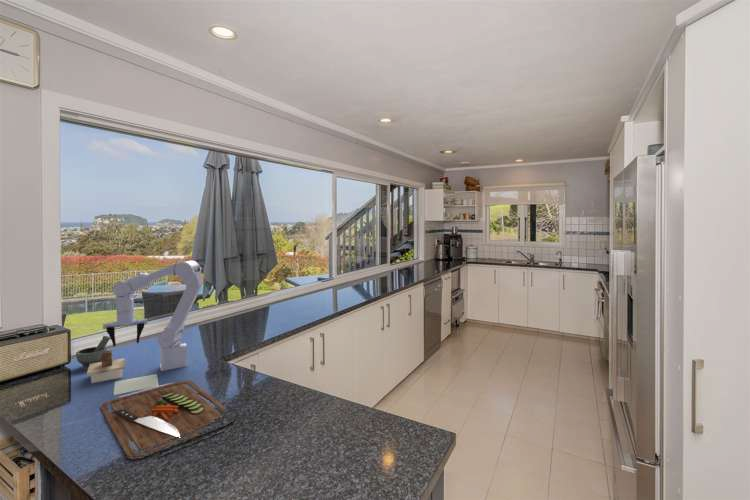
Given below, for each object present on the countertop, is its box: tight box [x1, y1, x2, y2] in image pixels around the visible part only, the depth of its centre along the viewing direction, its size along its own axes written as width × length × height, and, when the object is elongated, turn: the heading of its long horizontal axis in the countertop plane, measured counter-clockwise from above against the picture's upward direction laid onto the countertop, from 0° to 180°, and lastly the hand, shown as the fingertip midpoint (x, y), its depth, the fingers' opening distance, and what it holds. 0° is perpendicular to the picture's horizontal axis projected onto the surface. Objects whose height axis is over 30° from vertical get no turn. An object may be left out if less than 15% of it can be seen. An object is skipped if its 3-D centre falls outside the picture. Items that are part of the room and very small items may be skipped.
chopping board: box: [100, 380, 228, 458], centre depth 108 cm, size 45×27×3 cm, turn 46°
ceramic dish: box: [90, 369, 123, 384], centre depth 134 cm, size 9×9×4 cm
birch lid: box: [86, 350, 126, 376], centre depth 134 cm, size 11×11×6 cm
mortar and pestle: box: [75, 335, 111, 371], centre depth 145 cm, size 11×9×12 cm
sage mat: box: [113, 373, 160, 396], centre depth 128 cm, size 13×13×1 cm
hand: (126, 344), depth 143 cm, fingers open, 7 cm apart
